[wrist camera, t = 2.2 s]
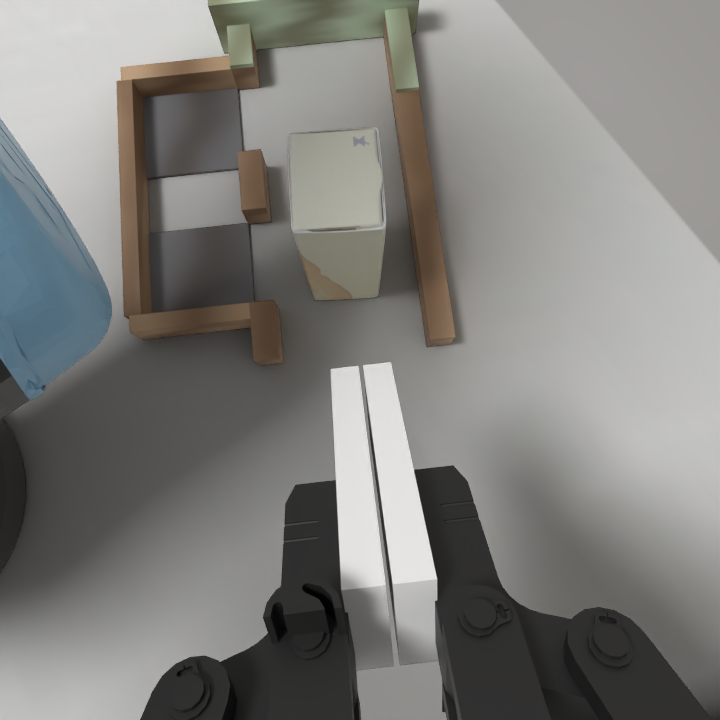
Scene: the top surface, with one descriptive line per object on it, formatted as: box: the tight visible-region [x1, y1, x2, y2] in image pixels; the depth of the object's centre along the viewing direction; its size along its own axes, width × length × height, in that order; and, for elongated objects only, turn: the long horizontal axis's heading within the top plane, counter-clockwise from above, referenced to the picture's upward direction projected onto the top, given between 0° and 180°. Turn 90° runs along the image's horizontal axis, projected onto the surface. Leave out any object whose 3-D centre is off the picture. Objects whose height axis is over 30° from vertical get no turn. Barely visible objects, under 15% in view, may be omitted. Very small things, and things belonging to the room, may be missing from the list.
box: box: [288, 127, 386, 300], centre depth 30 cm, size 5×4×11 cm
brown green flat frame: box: [117, 0, 455, 365], centre depth 34 cm, size 20×24×4 cm
